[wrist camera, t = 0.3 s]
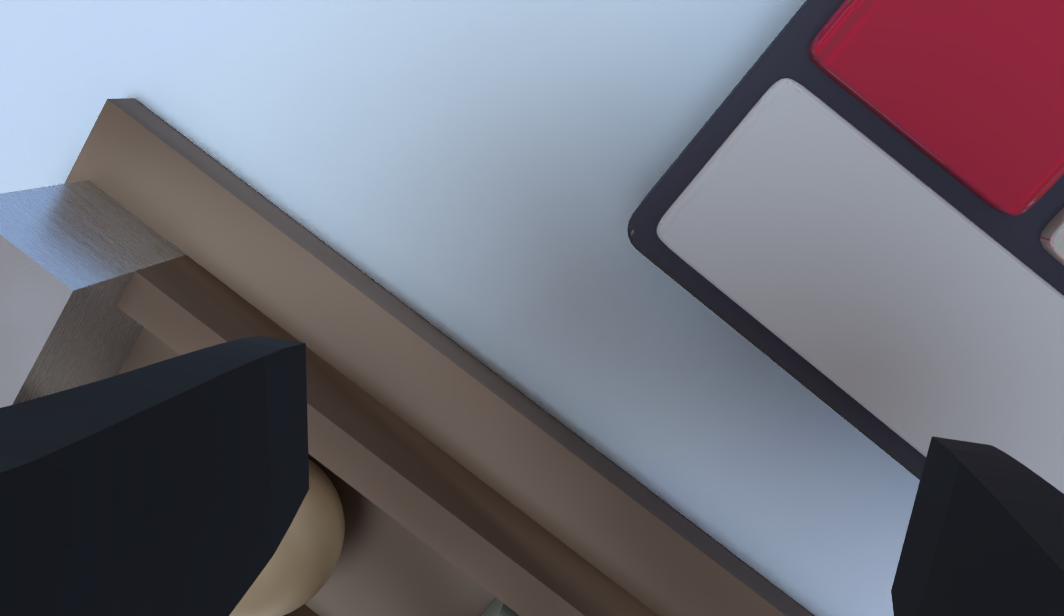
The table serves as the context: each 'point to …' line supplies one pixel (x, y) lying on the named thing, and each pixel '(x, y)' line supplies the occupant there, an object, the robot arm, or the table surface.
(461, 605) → the base
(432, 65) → the table surface
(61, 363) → the anvil
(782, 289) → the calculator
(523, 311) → the table surface
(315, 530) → the ball
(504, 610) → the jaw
